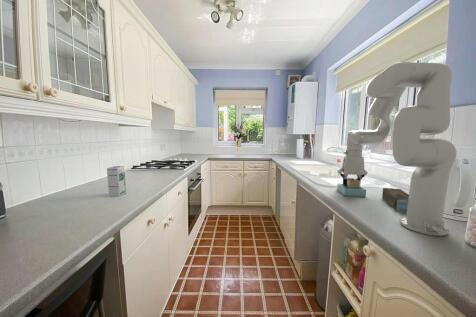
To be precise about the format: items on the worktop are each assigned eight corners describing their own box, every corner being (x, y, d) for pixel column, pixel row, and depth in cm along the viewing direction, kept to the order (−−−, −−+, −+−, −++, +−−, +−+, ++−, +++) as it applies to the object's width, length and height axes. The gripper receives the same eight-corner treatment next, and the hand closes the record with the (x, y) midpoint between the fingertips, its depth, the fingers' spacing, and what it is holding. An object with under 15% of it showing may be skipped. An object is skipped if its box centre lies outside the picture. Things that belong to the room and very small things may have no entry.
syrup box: (119, 196, 105) (118, 167, 103) (108, 196, 105) (106, 167, 103) (126, 193, 111) (124, 166, 109) (115, 192, 111) (113, 165, 109)
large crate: (365, 196, 111) (366, 189, 110) (344, 195, 112) (345, 188, 111) (356, 190, 122) (356, 184, 122) (337, 190, 123) (337, 183, 123)
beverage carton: (395, 212, 90) (396, 197, 90) (381, 199, 108) (382, 186, 108) (417, 214, 88) (419, 199, 87) (399, 200, 106) (400, 188, 105)
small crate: (359, 188, 113) (360, 181, 112) (347, 187, 113) (348, 180, 113) (354, 185, 120) (354, 178, 119) (343, 184, 120) (343, 177, 120)
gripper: (339, 153, 111) (337, 186, 114) (374, 154, 109) (371, 188, 112) (335, 152, 119) (332, 183, 121) (367, 153, 117) (364, 184, 119)
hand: (351, 185), depth 116 cm, fingers closed on small crate, 5 cm apart
